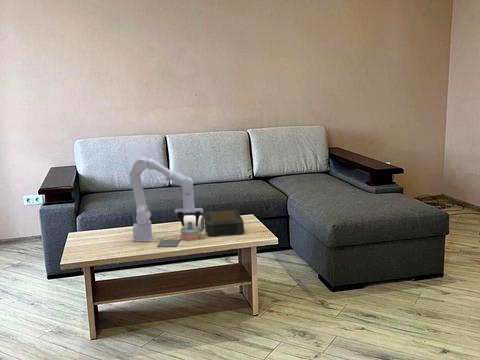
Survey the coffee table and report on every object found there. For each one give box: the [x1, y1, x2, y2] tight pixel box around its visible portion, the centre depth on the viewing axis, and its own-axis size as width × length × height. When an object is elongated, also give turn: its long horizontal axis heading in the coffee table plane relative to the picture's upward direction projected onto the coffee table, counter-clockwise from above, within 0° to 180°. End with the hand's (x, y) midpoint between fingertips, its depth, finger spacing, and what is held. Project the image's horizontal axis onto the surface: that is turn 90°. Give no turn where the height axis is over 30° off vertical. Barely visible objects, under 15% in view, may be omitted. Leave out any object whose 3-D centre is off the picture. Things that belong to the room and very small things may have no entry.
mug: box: [183, 214, 205, 231], centre depth 281 cm, size 12×10×8 cm
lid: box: [180, 222, 201, 233], centre depth 264 cm, size 10×10×4 cm
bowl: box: [180, 231, 200, 242], centre depth 265 cm, size 9×9×4 cm
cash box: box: [203, 209, 245, 238], centre depth 278 cm, size 25×20×8 cm
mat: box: [156, 238, 181, 248], centre depth 257 cm, size 10×10×1 cm
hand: (190, 225), depth 264 cm, fingers open, 7 cm apart
